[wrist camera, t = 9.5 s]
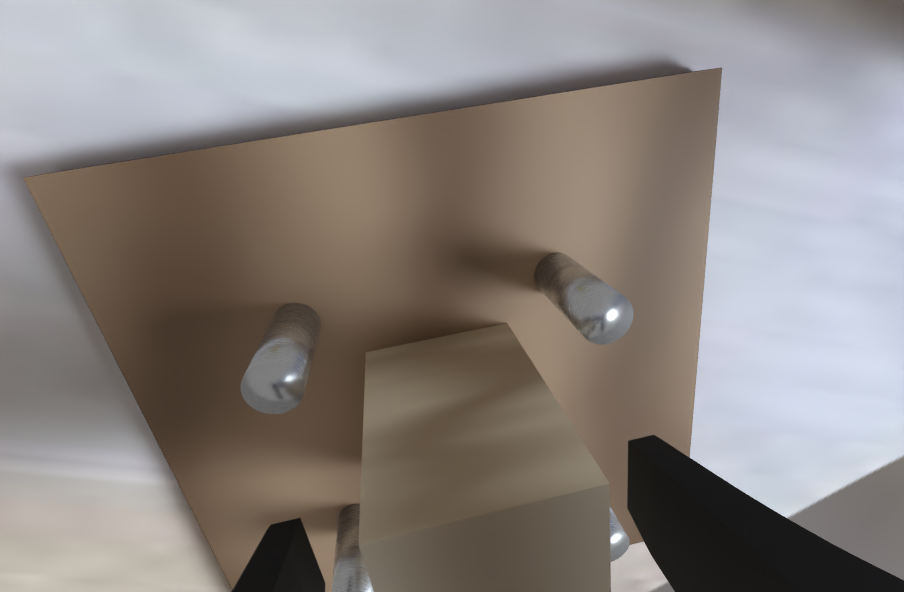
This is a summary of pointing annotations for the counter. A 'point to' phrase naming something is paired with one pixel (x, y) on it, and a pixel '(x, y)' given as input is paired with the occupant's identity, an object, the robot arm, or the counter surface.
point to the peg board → (396, 287)
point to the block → (476, 474)
